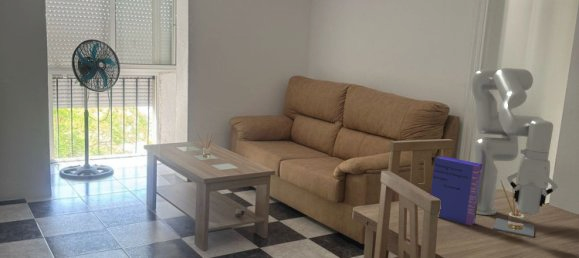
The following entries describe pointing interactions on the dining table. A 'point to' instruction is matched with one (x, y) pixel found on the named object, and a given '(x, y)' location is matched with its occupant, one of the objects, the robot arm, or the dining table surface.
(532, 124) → the robot arm
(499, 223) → the mat
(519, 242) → the dining table surface
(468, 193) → the cereal box
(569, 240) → the dining table surface
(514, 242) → the dining table surface
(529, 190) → the can
